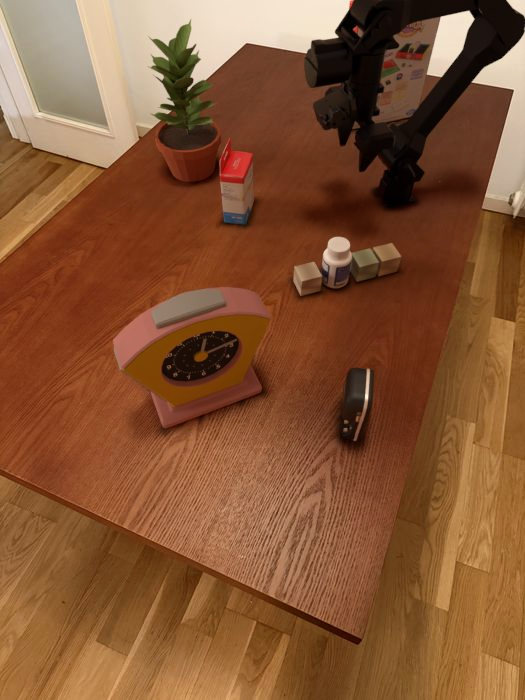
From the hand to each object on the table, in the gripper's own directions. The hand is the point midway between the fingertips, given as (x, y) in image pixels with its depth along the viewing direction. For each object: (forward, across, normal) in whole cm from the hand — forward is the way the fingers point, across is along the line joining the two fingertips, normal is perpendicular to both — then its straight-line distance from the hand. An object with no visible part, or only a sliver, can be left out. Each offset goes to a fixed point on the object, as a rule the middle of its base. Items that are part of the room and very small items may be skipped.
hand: (351, 158), depth 99 cm
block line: (+12, +19, -8) cm, 24 cm away
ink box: (+12, -6, -22) cm, 26 cm away
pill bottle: (+12, +19, -10) cm, 25 cm away
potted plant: (+12, -24, -28) cm, 39 cm away
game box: (+12, -30, +22) cm, 39 cm away
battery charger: (+12, +48, -20) cm, 53 cm away
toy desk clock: (+12, +35, -40) cm, 54 cm away
